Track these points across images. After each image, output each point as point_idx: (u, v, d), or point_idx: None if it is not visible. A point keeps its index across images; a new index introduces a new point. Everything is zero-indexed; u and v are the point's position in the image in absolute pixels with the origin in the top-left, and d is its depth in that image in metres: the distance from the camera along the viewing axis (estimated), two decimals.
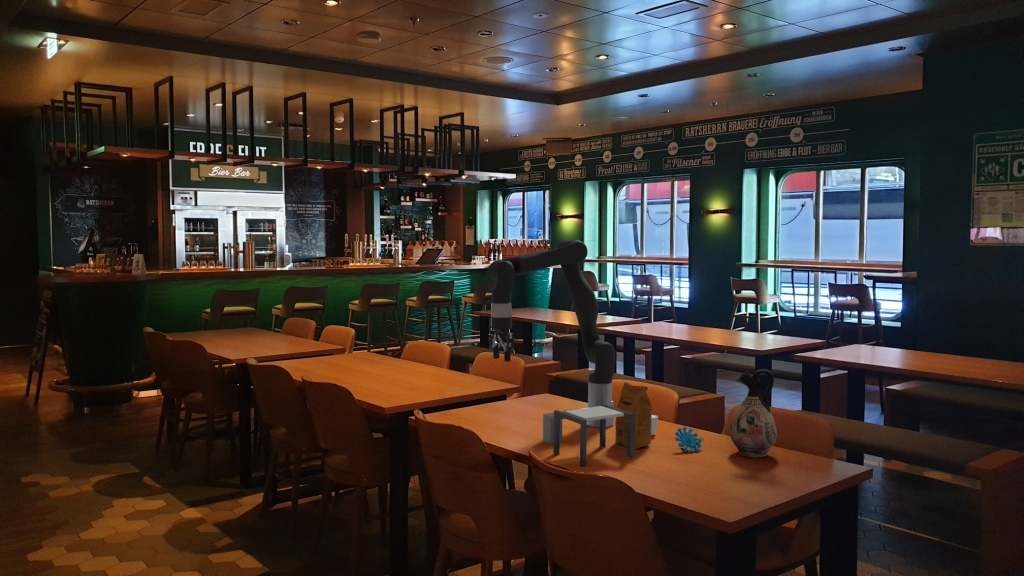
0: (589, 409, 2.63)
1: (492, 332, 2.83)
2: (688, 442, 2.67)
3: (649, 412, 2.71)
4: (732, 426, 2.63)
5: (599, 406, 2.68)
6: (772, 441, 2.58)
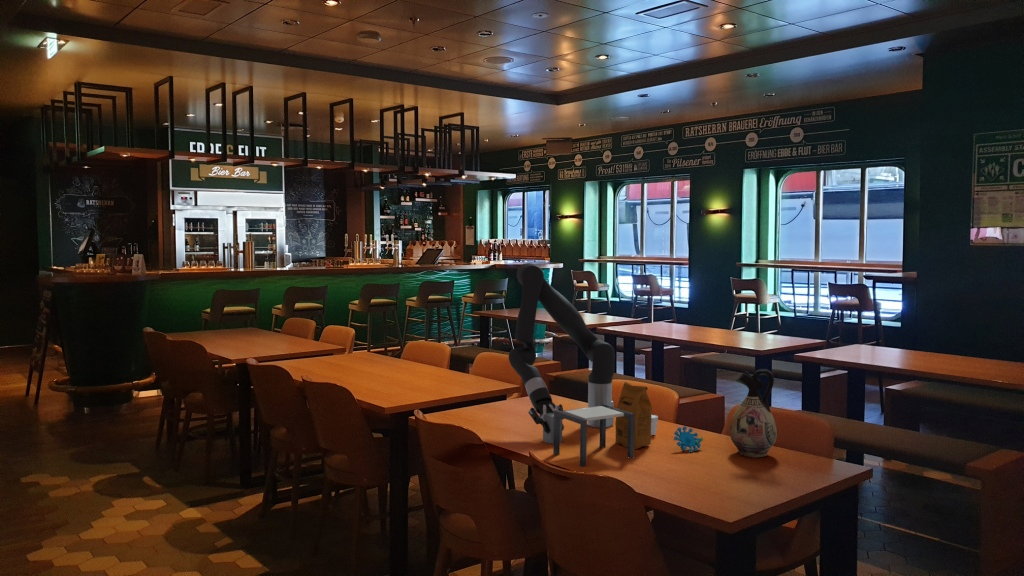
0: (589, 409, 2.63)
1: None
2: (687, 442, 2.67)
3: (649, 412, 2.71)
4: (732, 426, 2.63)
5: (599, 406, 2.68)
6: (772, 441, 2.58)
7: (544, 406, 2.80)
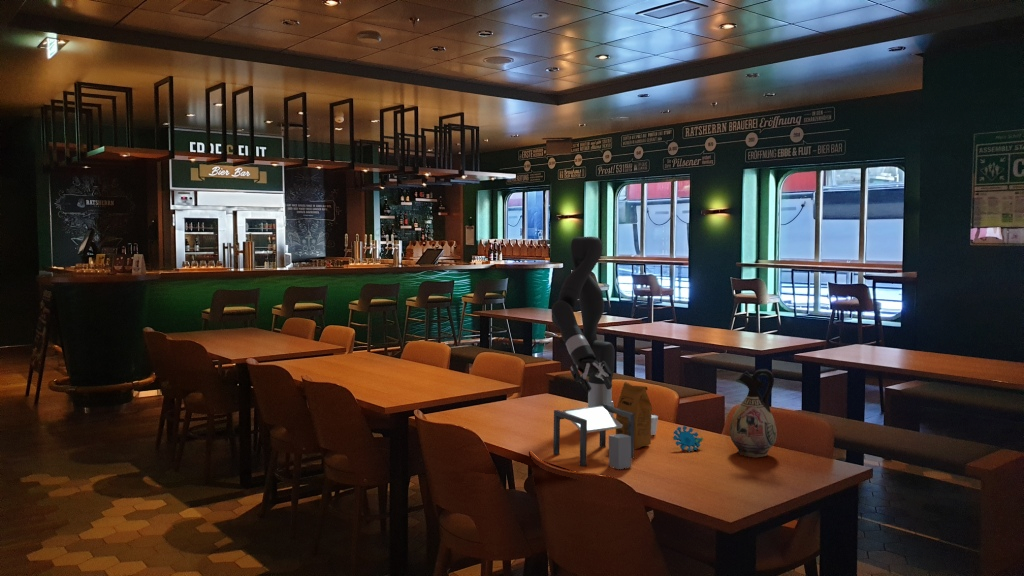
0: (589, 411, 2.63)
1: None
2: (686, 441, 2.68)
3: (649, 412, 2.71)
4: (732, 426, 2.63)
5: (599, 406, 2.68)
6: (772, 441, 2.58)
7: (588, 364, 2.60)
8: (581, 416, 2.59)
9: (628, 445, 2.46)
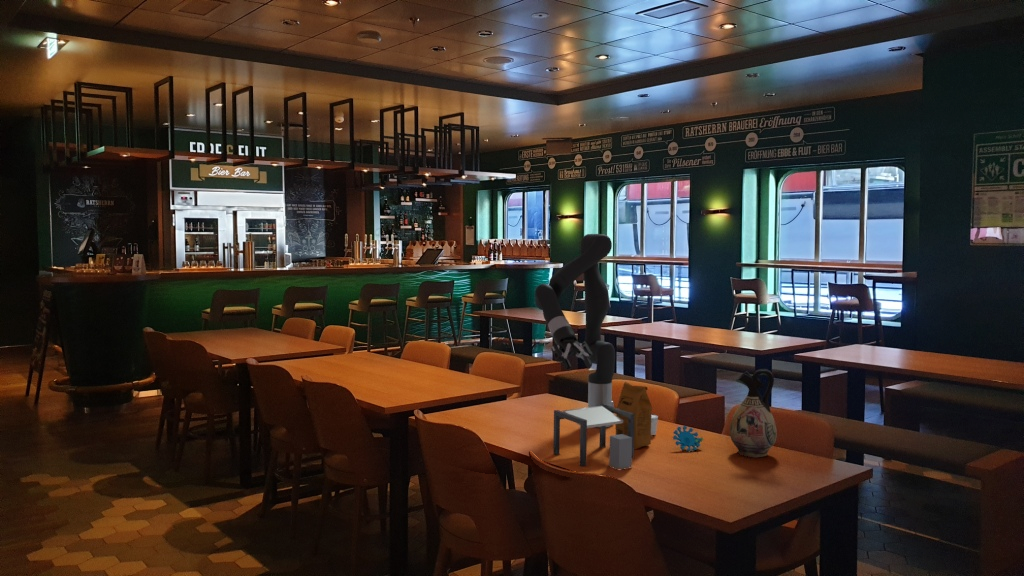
0: (589, 410, 2.63)
1: (581, 346, 2.74)
2: (686, 441, 2.68)
3: (649, 412, 2.71)
4: (732, 426, 2.63)
5: (599, 406, 2.68)
6: (772, 441, 2.58)
7: (569, 344, 2.69)
8: (581, 414, 2.59)
9: (629, 446, 2.45)
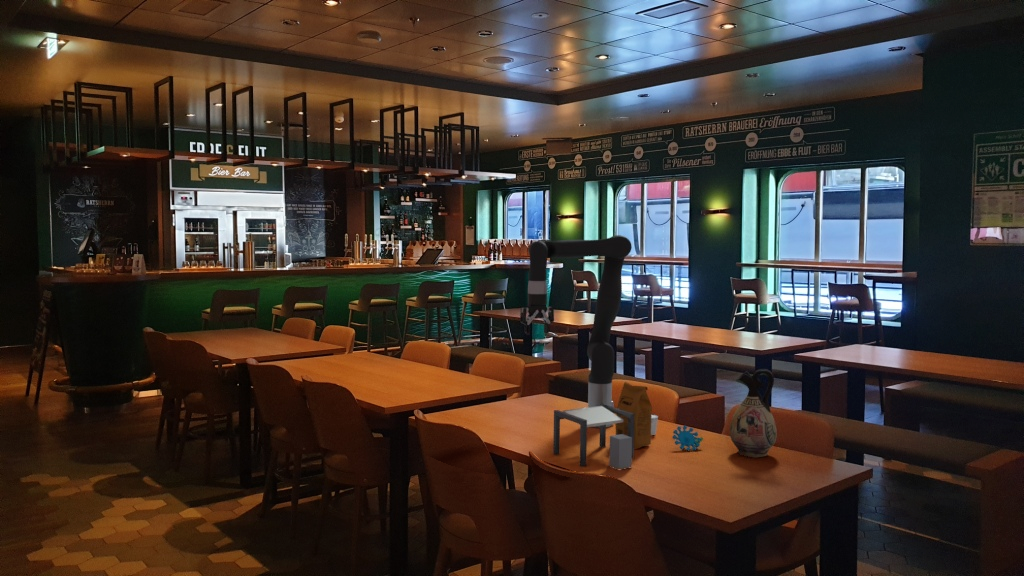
0: (589, 410, 2.63)
1: None
2: (685, 441, 2.69)
3: (649, 412, 2.71)
4: (732, 426, 2.63)
5: (599, 406, 2.68)
6: (772, 441, 2.58)
7: (537, 311, 2.98)
8: (581, 414, 2.59)
9: (629, 446, 2.45)
